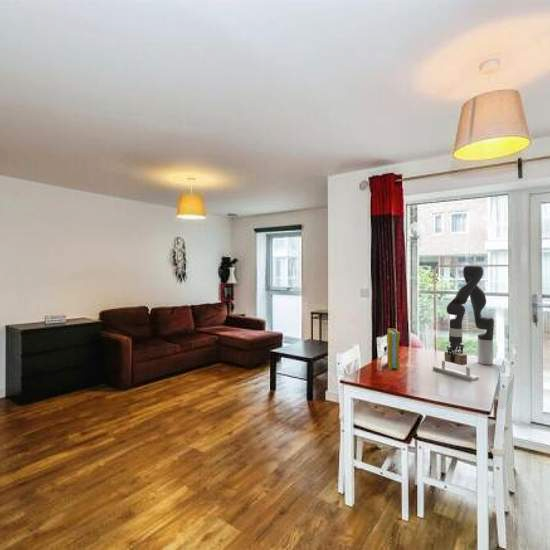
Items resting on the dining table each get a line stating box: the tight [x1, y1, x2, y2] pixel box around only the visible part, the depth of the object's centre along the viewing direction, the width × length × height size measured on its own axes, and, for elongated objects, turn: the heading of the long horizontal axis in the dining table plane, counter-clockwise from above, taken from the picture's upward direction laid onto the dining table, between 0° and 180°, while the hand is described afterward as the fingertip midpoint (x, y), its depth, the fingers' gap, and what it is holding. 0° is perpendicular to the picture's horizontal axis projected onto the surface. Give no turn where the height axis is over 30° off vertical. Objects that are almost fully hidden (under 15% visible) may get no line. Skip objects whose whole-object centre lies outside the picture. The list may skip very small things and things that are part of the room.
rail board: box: [432, 360, 479, 382], centre depth 224 cm, size 8×26×6 cm, turn 29°
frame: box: [444, 350, 468, 366], centre depth 224 cm, size 12×5×6 cm, turn 29°
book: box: [386, 327, 401, 371], centre depth 243 cm, size 17×7×25 cm, turn 168°
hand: (455, 361), depth 224 cm, fingers closed on frame, 5 cm apart
